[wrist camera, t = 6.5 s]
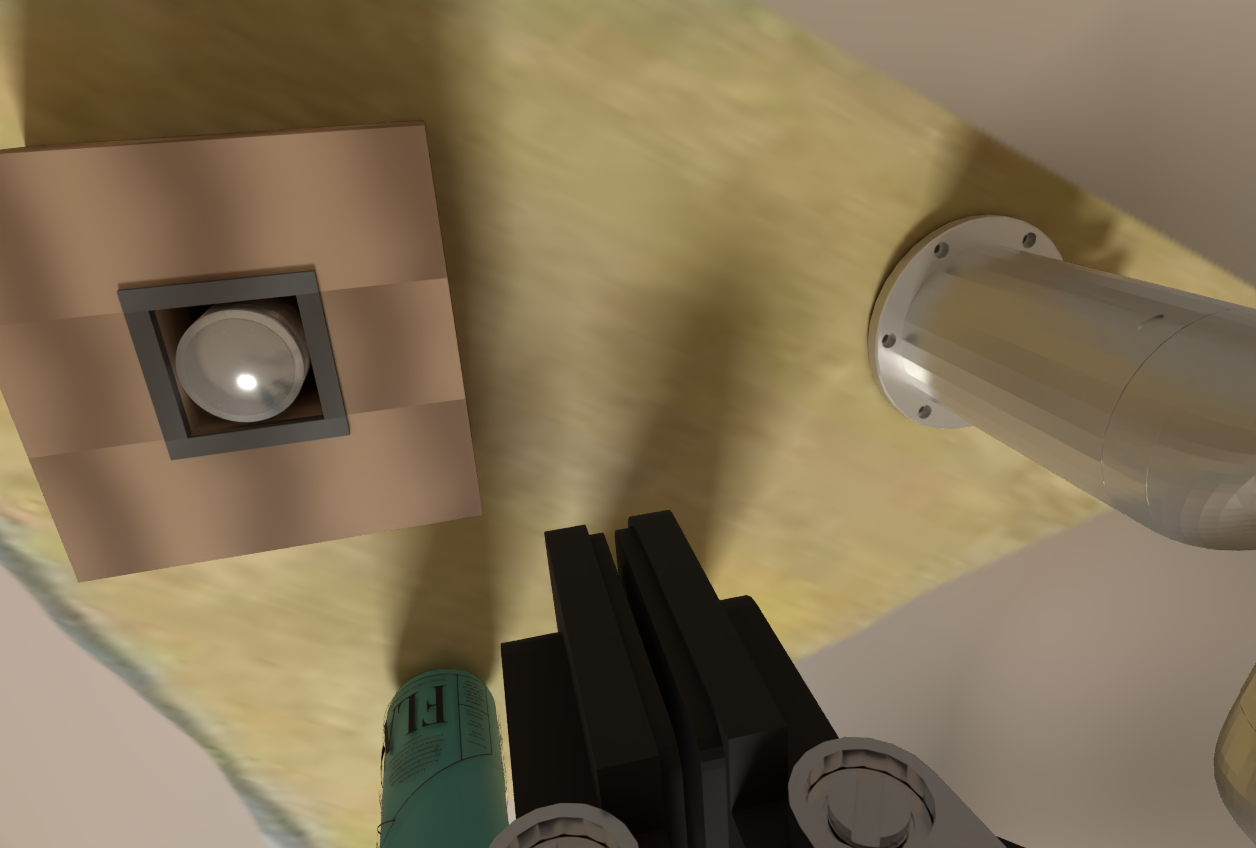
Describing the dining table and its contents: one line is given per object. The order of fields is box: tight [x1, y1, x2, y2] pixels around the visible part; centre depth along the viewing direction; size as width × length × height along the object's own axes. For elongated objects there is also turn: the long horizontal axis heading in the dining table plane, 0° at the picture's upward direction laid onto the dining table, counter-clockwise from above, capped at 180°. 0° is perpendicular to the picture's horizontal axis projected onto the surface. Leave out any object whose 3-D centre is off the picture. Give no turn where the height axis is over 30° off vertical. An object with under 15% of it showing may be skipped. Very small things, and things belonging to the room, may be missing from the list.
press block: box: [0, 120, 483, 582], centre depth 33 cm, size 16×16×8 cm
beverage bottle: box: [376, 669, 509, 848], centre depth 38 cm, size 6×7×20 cm
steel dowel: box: [175, 295, 312, 422], centre depth 33 cm, size 4×4×8 cm
